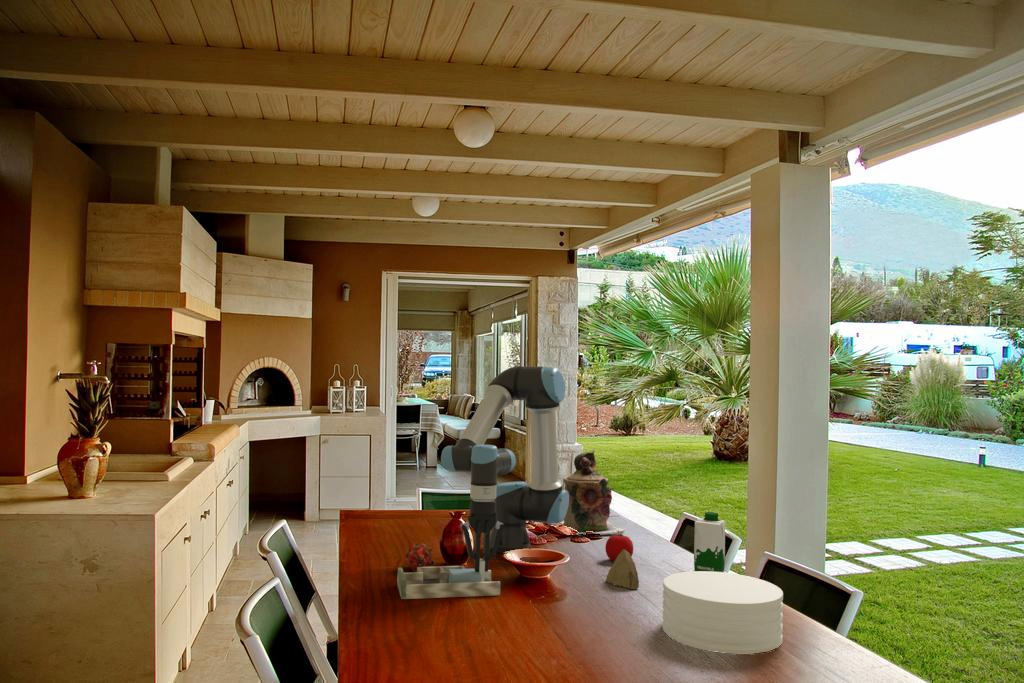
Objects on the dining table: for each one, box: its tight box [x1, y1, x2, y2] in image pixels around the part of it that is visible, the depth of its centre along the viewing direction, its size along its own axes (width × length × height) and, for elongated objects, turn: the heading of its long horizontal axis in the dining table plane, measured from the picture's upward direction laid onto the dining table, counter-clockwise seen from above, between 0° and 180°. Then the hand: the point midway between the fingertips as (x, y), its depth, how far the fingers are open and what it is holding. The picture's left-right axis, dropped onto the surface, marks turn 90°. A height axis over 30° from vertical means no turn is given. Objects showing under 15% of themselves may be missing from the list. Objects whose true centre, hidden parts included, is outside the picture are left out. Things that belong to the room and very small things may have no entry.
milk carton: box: [693, 511, 726, 572], centre depth 232 cm, size 9×9×20 cm
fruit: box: [605, 531, 634, 562], centre depth 253 cm, size 9×9×10 cm
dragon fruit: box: [405, 542, 435, 572], centre depth 235 cm, size 8×8×12 cm
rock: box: [604, 549, 640, 590], centre depth 223 cm, size 11×9×10 cm
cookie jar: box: [561, 449, 627, 536], centre depth 303 cm, size 25×25×32 cm
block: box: [449, 568, 481, 583], centre depth 214 cm, size 8×7×5 cm
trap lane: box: [396, 565, 501, 600], centre depth 216 cm, size 27×19×5 cm
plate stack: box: [661, 570, 784, 653], centre depth 184 cm, size 28×28×12 cm
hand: (480, 583), depth 215 cm, fingers closed
